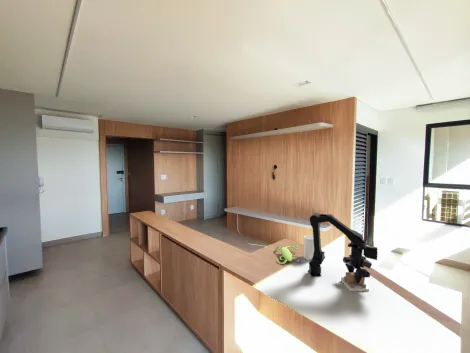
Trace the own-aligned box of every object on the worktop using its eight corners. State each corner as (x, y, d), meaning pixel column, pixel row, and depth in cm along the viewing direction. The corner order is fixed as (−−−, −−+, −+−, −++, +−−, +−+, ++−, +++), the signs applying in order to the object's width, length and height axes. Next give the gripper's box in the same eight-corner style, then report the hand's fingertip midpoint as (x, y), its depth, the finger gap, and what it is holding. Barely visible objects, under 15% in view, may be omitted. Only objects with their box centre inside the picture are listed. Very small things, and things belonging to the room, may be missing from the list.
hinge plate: (349, 290, 123) (349, 285, 123) (341, 280, 133) (341, 275, 133) (368, 290, 123) (369, 285, 123) (358, 280, 133) (359, 275, 133)
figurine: (297, 249, 177) (297, 243, 176) (303, 266, 151) (303, 258, 150) (274, 248, 179) (274, 242, 179) (276, 264, 153) (277, 257, 152)
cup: (313, 261, 157) (314, 240, 156) (302, 258, 162) (302, 237, 160) (315, 256, 164) (316, 236, 163) (304, 254, 169) (305, 234, 167)
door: (348, 285, 126) (349, 275, 126) (345, 281, 130) (345, 272, 130) (365, 285, 126) (365, 275, 126) (361, 281, 130) (361, 272, 130)
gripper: (380, 263, 117) (378, 290, 119) (360, 248, 136) (359, 271, 137) (360, 262, 117) (358, 290, 119) (343, 248, 136) (341, 271, 137)
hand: (354, 280), depth 128 cm, fingers open, 6 cm apart
